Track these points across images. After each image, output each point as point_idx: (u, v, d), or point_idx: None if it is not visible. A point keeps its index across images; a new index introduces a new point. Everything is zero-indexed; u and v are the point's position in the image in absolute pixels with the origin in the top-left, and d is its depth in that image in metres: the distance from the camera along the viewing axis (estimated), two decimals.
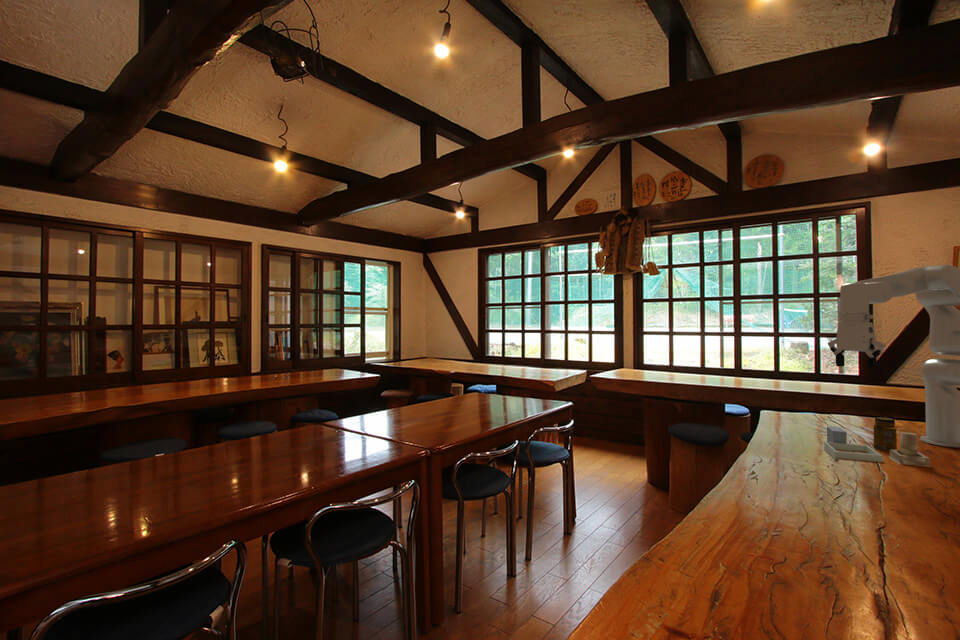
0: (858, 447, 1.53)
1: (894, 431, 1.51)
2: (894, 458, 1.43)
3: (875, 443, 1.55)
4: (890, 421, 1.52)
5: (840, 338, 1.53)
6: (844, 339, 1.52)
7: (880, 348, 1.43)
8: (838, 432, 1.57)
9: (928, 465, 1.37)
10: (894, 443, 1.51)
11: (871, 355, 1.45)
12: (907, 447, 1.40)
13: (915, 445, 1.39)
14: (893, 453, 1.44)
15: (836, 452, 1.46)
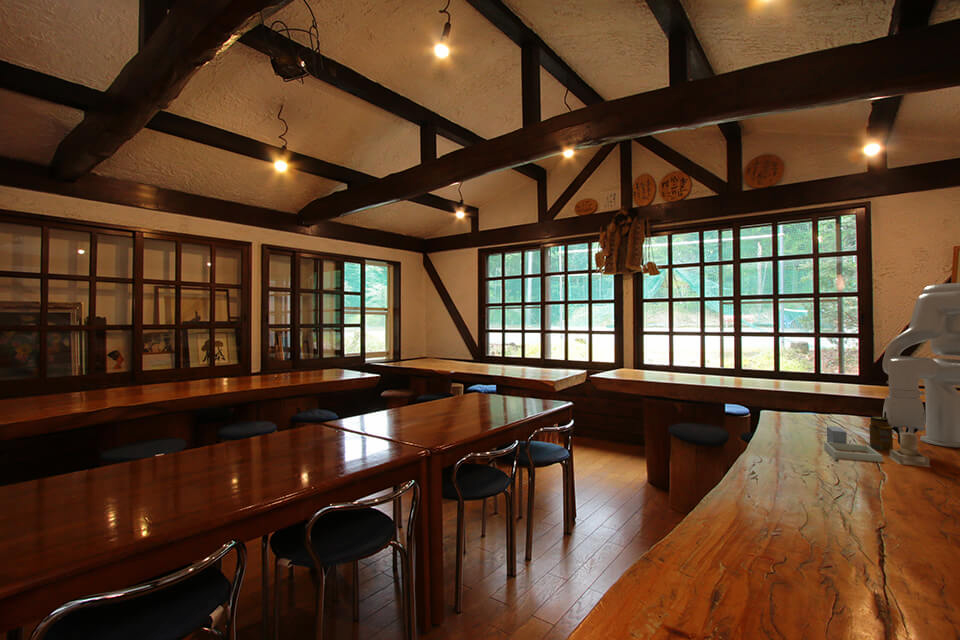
0: (858, 447, 1.53)
1: (890, 430, 1.52)
2: (894, 458, 1.43)
3: (871, 443, 1.55)
4: (886, 420, 1.52)
5: (895, 414, 1.51)
6: (899, 415, 1.50)
7: (920, 429, 1.49)
8: (838, 432, 1.57)
9: (928, 465, 1.37)
10: (890, 442, 1.52)
11: None
12: (907, 447, 1.40)
13: (915, 445, 1.39)
14: (893, 453, 1.44)
15: (836, 452, 1.46)
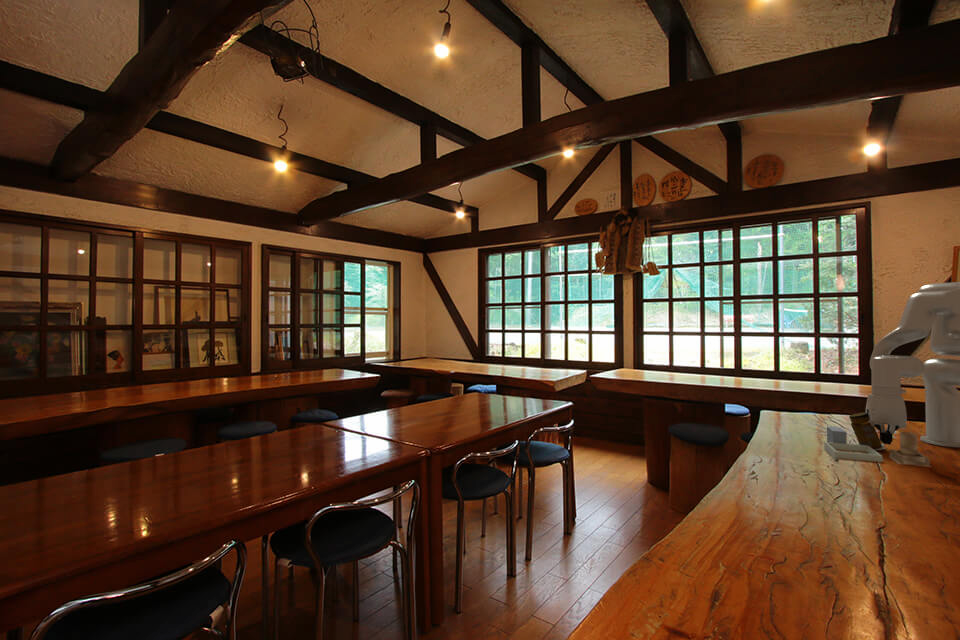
0: (858, 447, 1.53)
1: None
2: (894, 458, 1.43)
3: (860, 441, 1.57)
4: (863, 416, 1.56)
5: (877, 411, 1.53)
6: (880, 413, 1.52)
7: (901, 427, 1.51)
8: (838, 432, 1.57)
9: (928, 465, 1.37)
10: (876, 436, 1.54)
11: (892, 431, 1.52)
12: (907, 447, 1.40)
13: (915, 445, 1.39)
14: (893, 453, 1.44)
15: (836, 452, 1.46)
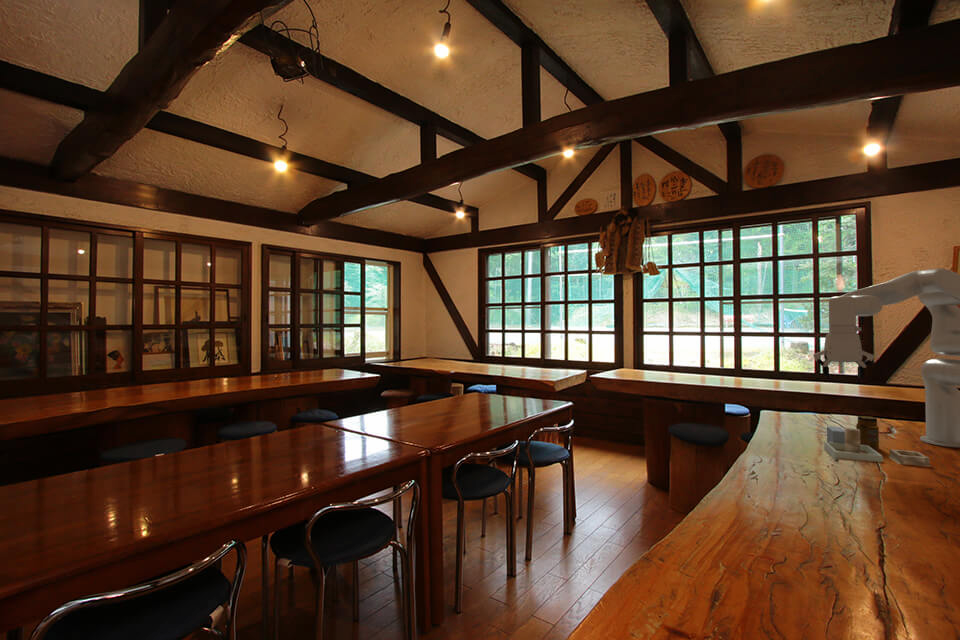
0: None
1: (877, 429, 1.54)
2: (894, 458, 1.43)
3: None
4: (874, 420, 1.54)
5: (833, 350, 1.55)
6: (837, 351, 1.55)
7: (871, 358, 1.52)
8: (838, 432, 1.57)
9: (928, 465, 1.37)
10: (877, 441, 1.54)
11: (864, 365, 1.53)
12: (850, 441, 1.48)
13: (858, 440, 1.47)
14: (893, 453, 1.44)
15: (836, 452, 1.46)
